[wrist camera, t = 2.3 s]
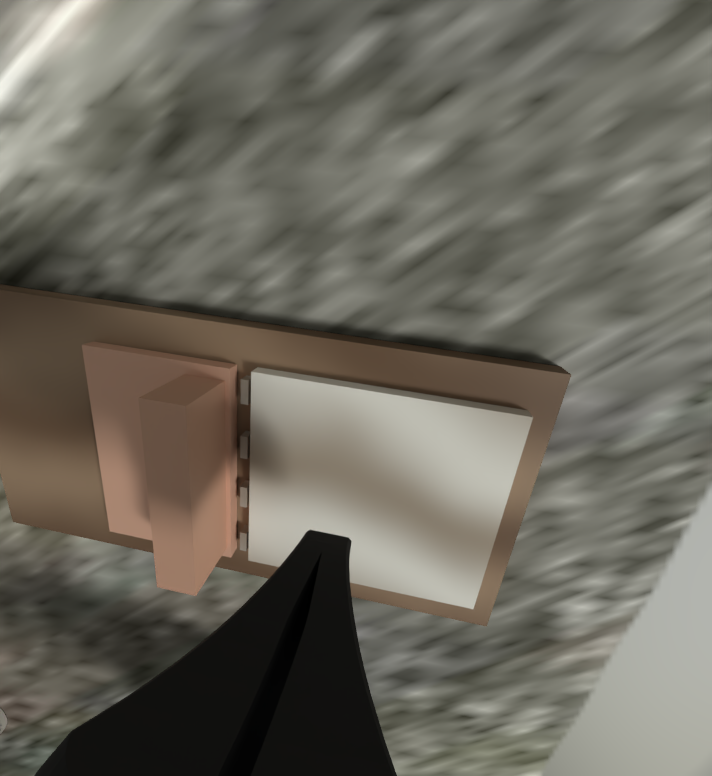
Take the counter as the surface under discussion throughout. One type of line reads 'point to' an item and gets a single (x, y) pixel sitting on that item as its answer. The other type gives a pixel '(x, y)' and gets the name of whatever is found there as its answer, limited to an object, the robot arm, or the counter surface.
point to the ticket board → (299, 443)
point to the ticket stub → (167, 455)
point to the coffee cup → (2, 720)
